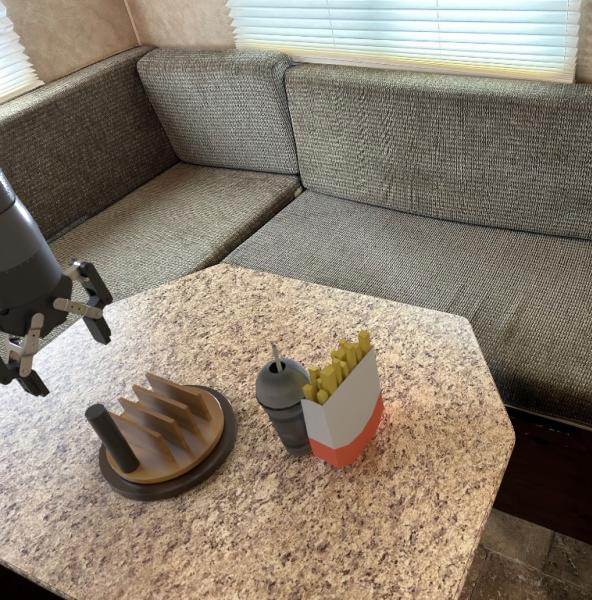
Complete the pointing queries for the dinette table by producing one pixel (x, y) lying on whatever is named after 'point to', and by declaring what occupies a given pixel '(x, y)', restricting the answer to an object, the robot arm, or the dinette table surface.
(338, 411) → the french fries container
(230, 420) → the base
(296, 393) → the beverage cup
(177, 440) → the plate rack
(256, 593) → the dinette table surface
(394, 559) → the dinette table surface
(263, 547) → the dinette table surface
